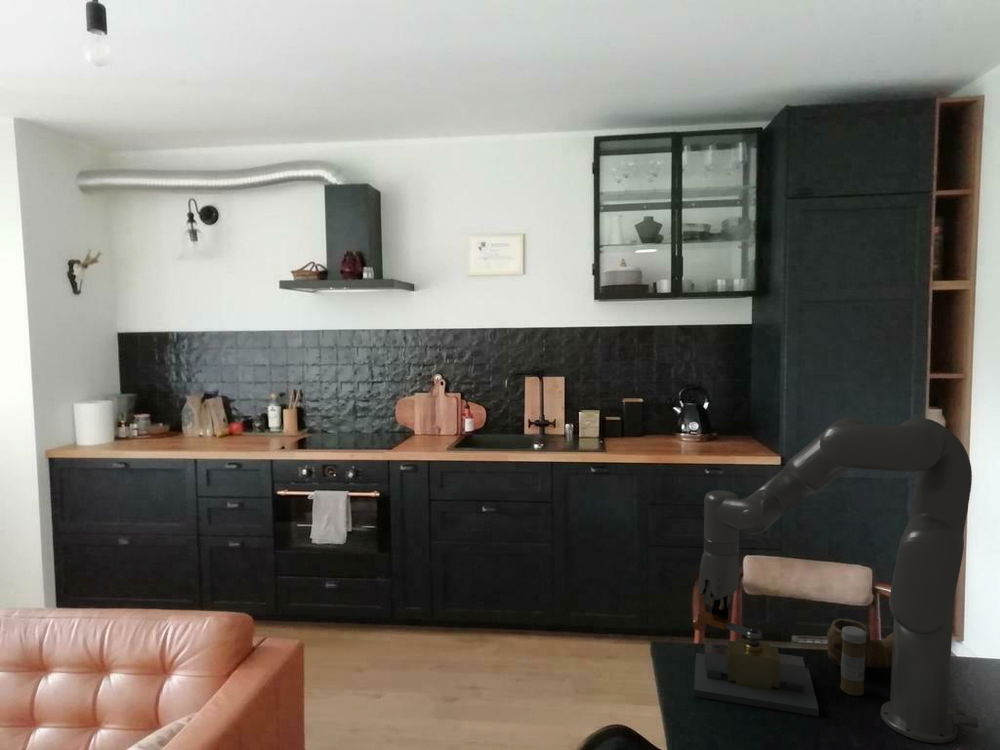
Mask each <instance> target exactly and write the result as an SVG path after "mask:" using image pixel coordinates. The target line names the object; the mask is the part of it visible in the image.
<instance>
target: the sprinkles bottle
mask: <svg viewBox="0 0 1000 750" xmlns="http://www.w3.org/2000/svg"><path fill="white" fill-rule="evenodd" d="M842 640H843V641H842V659H841V666H840V676H841V677H840V686H839V688H840V689H841V691H842V692H844V693H845V694H847V695H849V696H854V697H855V696H856V697H860V696H862V695H864V693H865V691H864V683H865V682H864V681H865V672H866V671H865V670H866V668H865V643H866V632H865V631H864V630H862V629H860V628H857V627H853V626H846V627H843V628H842Z"/></svg>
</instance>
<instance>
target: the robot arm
mask: <svg viewBox="0 0 1000 750" xmlns="http://www.w3.org/2000/svg"><path fill="white" fill-rule="evenodd" d="M849 469H861V470H873V471H885V472H886V471H889V472H903V473H904V472H905V473H915V472H916V473H917V481H916V486H915V492H914V499H913V505H912V509H911V513H910V518H909V520H908V523H907V525H906V527H905V528H904V531H903V533H902V535H901V538H900V541H899V545H898V549H897V554H896V560H895V565H894V569H893V570H894V571H893V576H892V583H891V585H890V587H891V588H890V593H889V598H888V605H889V609H890V612H891V614H892V616H893V626H892V627H893V630H892V631H893V632H892V633H893V644H892V668H891V669H890V670H891V673H890V692H889V693H890V698H889V699H890V700H888V701H886V702H884V703H883V704H882V705H881V707H880V716H881V719H882V721H884V723H885V724H886V725H887V726H888V727H889V728H891V729H892V730H894V731H895V732H896V733H899V734H901V735H903V736H905V737H907V738H910V739H911V740H916V741H920V742H924V743H929V744H943V743H944V744H945V743H946V744H947V743H949V742H952V741H953V740H955V739H956V737H957V734H958V727H959V725H961V726H966V727H969V728H978V726H979V721H978V718H977V716H975V715H968V714H966V710H965V709H964V708H963V709H962V708H953V707H951V706H950V705H949V696H950V694H949V692H950V675H951V673H950V672H951V655H952V644H953V643H952V641H953V640H952V639H953V626H954V625H953V623H954V622H953V621H954V609H955V596H956V592H957V586H958V581H959V576H960V572H961V567H962V560H963V556H964V547H965V540H964V538H965V536H964V535H965V526H966V523H967V522H966V521H967V516H968V510H969V504H970V496H971V490H972V481H973V473H972V472H973V471H972V464H971V460H970V457H969V454H968V452H967V450H966V448H965V446H964V444H963V443H962V441H961V440H960V439H959V438H958V437H957V435H955V434H954V433H953V432H952V431H951V430H949V428H947V427H946V426H944V425H943V424H941V423H939V422H938V421H935V420H933V419H929V418H925V417H914V418H911V419H910V418H909V419H907V420H904V422H902V423H900V424H899V425H893V424H892V425H891V424H890V425H885V424H884V425H880V424H879V425H877V424H868V423H867V422H866V421H864V420H863V419H860V418H857V417H853V416H852V417H851V416H849V417H842V418H840V419H838V420H837V421H835V422H833V423H832V424H830V425H829V426H828V427H826V428H825V430H824V431H822V432H821V433H820V434H819V435H818V436H816V438H814V439H813V440H812V441H810V442H809V443H808V444H807V445H806V446H805V447H803V448H801V450H800V451H798V452H797V453H795V455H793V456H792V457H790V459H789V460H788V461H787V462H786V464H785V465H784V467H783V468H782V470H780V471H779V472H778V473H776V475H774V476H773V477H772V478H770V479H769V480H768V481H767V482H766V483H765V484H763V485H762V486H761V487H760V488H758V489H757V490H755V491H754V492H753V493H751V494H750V495H749V496H746V498H741V499H739V497H738V495H737V494H736V493H734V492H732V491H728V490H721V489H720V490H712V491H708V492H707V493H706V494H705V495H704V502H703V503H704V507H703V520H704V521H703V553H702V556H701V560H700V566H699V574H698V575H699V577H698V593H699V595H702V596H703V595H705V596H704V604H706V605H708V606H710V607H711V614H714V615H717V616H720V617H723V618H726V619H728V620H729V607H730V604H731V598H732V596H734V594H735V593H736V592H737V591H738V590H739V586H740V576H741V575H740V559H739V546H740V545H739V543H740V542H739V541H740V536H739V535H740V534H739V533H740V532H743V533H746V534H748V535H759V534H760V535H761V534H762V533H764V532H765V531H767V530H768V529H769V528H770V527H771V526H772V525H773V524H775V522H776V521H778V520H779V519H780V518H781V517H782V516H783V515H786V513H788V511H790V510H791V509H793V508H794V507H795V506H797V505H798V504H799V503H800V502H802V501H803V500H805V499H806V498H808V497H809V496H811V495H815V494H817V493H819V492H821V491H822V490H823V489H826V487H828V485H830V484H831V483H833V482H834V481H835V480H837V479H838V478H839V477H840V476H842V475H843V474H845V473H846V471H848V470H849Z"/></svg>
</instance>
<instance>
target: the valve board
mask: <svg viewBox="0 0 1000 750" xmlns="http://www.w3.org/2000/svg"><path fill="white" fill-rule="evenodd" d="M704 662H705V653H699V652H696V653H695V665H694V681H693V682H694V683H693V697H696V698H702V699H707V700H708V699H709V700H714V701H719V702H720V701H721V702H725V703H726V702H727V703H731V704H733V703H734V704H737V705H738V704H739V705H744V706H752V707H757V708H764V709H770V710H776V711H783V712H787V713H795V714H801V715H805V716H814V717H819V716H820V708H819V704H818V700H817V697H816V693H815V689H814V684H813V680H812V677H811V674H810V669H809V668H806V667H805V683H804V685H803V684H802V692H796V691H789V690H786V685H785V682H783V681H780V684H779V688H776V687H771V690H766V689H760V688H753V687H747V686H740V685H736V681H730V680H728V673H722V672H721V680H717V679H710V678H707V670H704Z"/></svg>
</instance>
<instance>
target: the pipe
mask: <svg viewBox="0 0 1000 750" xmlns="http://www.w3.org/2000/svg"><path fill="white" fill-rule="evenodd" d="M846 626H853V627H857V628H860V629H862V630H864V631H865V632H866V643H865V669H866V668H872V669H873V668H875V669H877V668H881V669H885V668H888V669H890V670H891V668H892V644H893V632H891V633H890V634H888V635H887V636H885V638H883V639H871V632H870V629H869V628H868V626H867V625H866V624H864V623H863V622H860V621H857V620H854V619H849V618H837V619H835V620H833V621H832V622H831V626H830V627H829V628H828V630H827V633H826V637H827V643H826V644H827V655H828V658H829V660H830V661H831V662H832V663H834V664H835V665H837V666H840V667H841V659H842V641H843V640H842V628H843V627H846Z"/></svg>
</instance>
